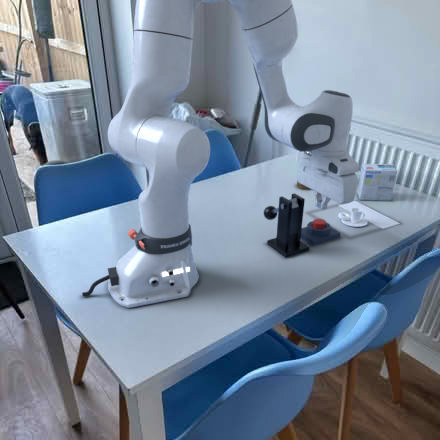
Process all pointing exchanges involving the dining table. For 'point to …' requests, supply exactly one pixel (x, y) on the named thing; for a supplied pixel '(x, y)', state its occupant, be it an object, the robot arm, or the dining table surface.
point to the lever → (272, 212)
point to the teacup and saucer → (355, 215)
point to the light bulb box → (377, 181)
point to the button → (319, 223)
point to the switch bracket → (289, 228)
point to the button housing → (318, 234)
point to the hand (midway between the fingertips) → (320, 207)
